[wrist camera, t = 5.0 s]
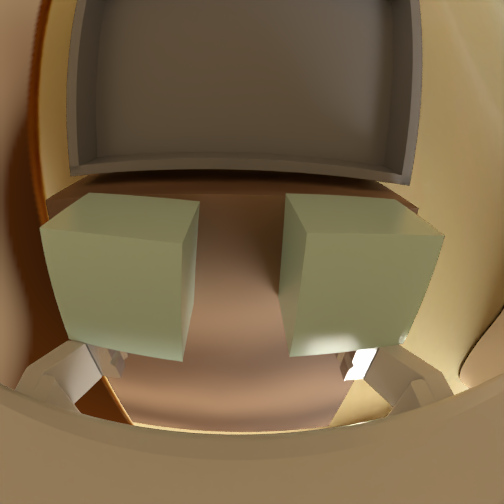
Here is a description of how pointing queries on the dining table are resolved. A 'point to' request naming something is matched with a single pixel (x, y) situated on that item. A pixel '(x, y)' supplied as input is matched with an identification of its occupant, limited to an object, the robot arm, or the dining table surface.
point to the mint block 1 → (125, 271)
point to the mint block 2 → (352, 272)
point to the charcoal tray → (245, 86)
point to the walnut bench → (231, 306)
